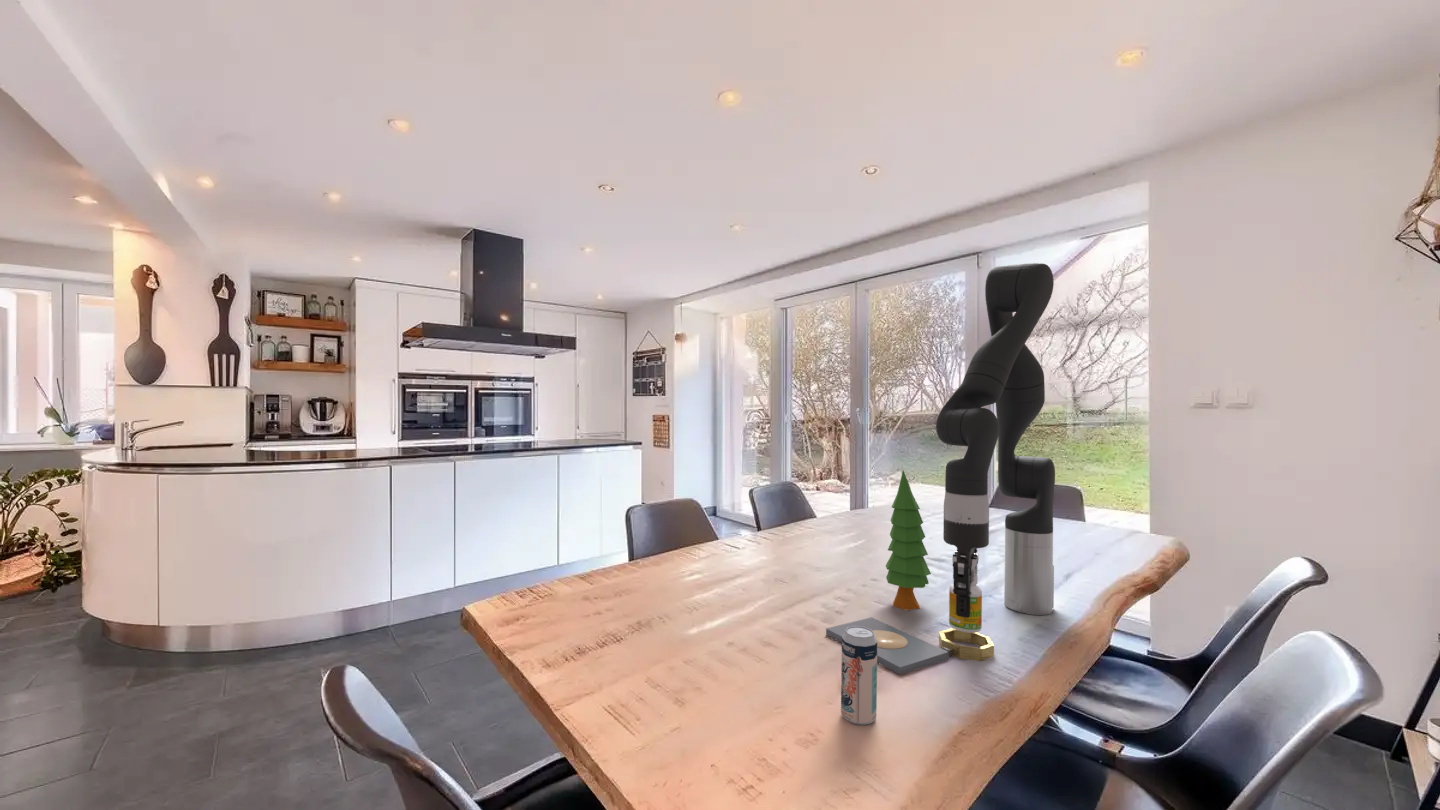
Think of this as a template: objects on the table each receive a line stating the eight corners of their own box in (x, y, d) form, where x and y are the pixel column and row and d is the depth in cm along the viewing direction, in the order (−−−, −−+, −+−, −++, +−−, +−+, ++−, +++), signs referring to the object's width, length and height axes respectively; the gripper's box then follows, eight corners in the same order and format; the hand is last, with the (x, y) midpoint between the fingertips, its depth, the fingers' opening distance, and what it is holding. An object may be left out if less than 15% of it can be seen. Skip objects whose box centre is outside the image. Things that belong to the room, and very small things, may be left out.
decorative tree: (876, 603, 123) (878, 468, 123) (899, 594, 129) (901, 466, 129) (916, 616, 115) (918, 472, 116) (939, 606, 121) (940, 470, 122)
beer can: (836, 709, 79) (837, 625, 79) (869, 708, 79) (870, 624, 80) (847, 728, 74) (848, 639, 74) (881, 727, 75) (882, 638, 75)
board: (871, 623, 111) (871, 616, 111) (948, 658, 96) (948, 651, 96) (826, 634, 105) (826, 627, 105) (900, 674, 90) (900, 666, 90)
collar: (964, 634, 106) (964, 624, 106) (1006, 652, 98) (1006, 641, 98) (925, 646, 100) (925, 635, 100) (967, 666, 93) (967, 654, 93)
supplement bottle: (963, 635, 96) (964, 579, 96) (942, 623, 102) (942, 570, 102) (988, 631, 98) (988, 576, 98) (966, 620, 103) (966, 568, 103)
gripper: (985, 527, 92) (984, 629, 92) (992, 513, 104) (991, 602, 104) (937, 522, 96) (936, 620, 96) (949, 509, 108) (948, 595, 108)
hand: (965, 610), depth 100 cm, fingers closed on supplement bottle, 5 cm apart
